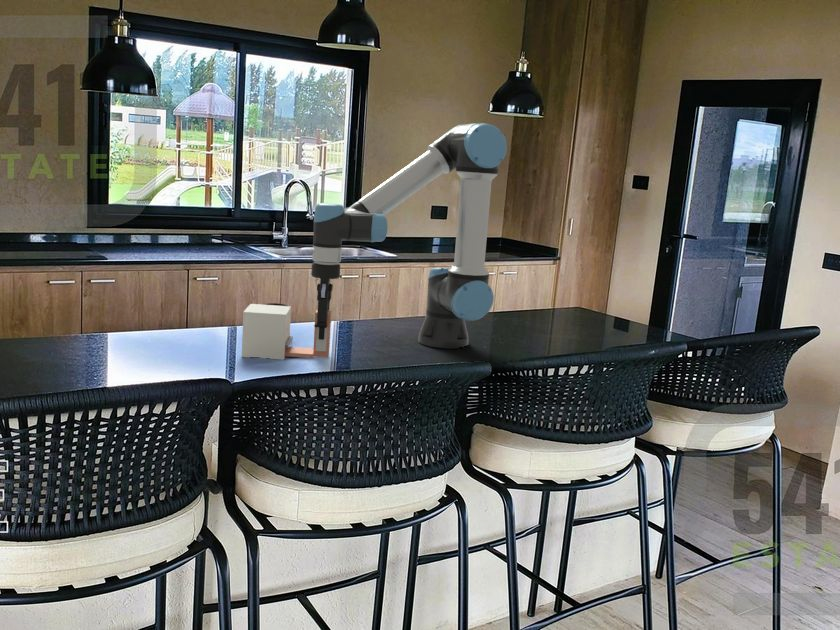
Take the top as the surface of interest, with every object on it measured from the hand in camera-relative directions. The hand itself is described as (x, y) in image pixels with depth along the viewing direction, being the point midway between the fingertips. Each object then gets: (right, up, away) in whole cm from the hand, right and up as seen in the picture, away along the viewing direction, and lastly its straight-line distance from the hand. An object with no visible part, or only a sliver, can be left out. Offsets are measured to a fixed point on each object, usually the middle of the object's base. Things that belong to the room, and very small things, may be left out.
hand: (321, 348), depth 227 cm
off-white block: (-15, -1, 0) cm, 15 cm away
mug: (-15, +2, +17) cm, 23 cm away
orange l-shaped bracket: (-8, -2, 0) cm, 8 cm away
